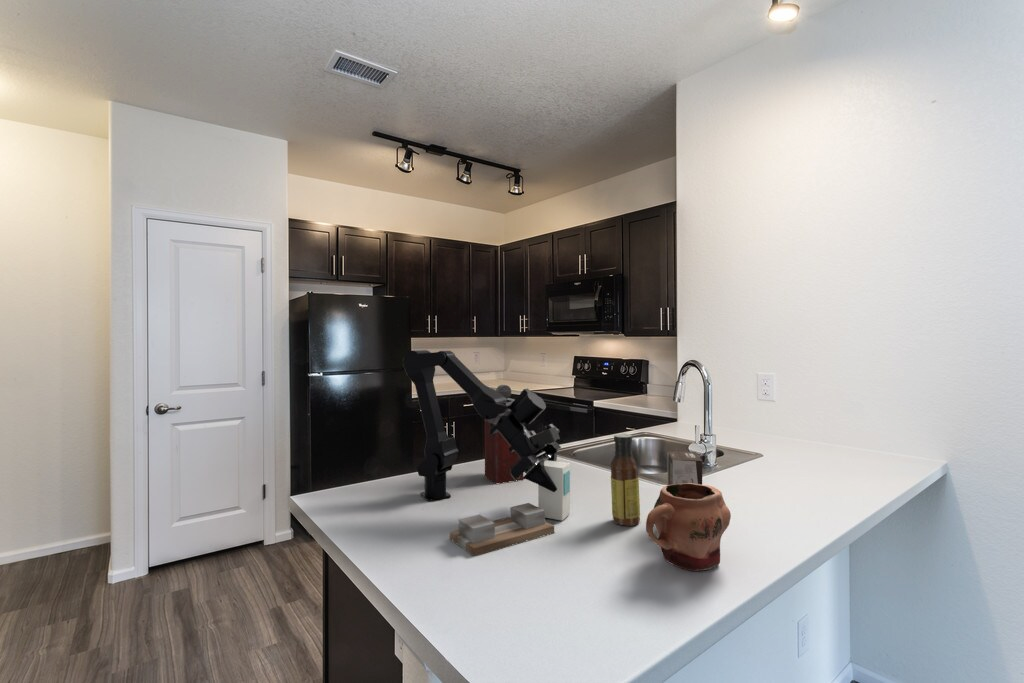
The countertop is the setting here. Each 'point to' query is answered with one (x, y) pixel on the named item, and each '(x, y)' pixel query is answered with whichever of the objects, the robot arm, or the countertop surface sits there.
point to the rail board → (501, 529)
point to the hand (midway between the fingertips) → (559, 487)
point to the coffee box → (684, 468)
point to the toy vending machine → (499, 449)
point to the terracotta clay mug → (689, 525)
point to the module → (560, 499)
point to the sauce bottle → (624, 483)
